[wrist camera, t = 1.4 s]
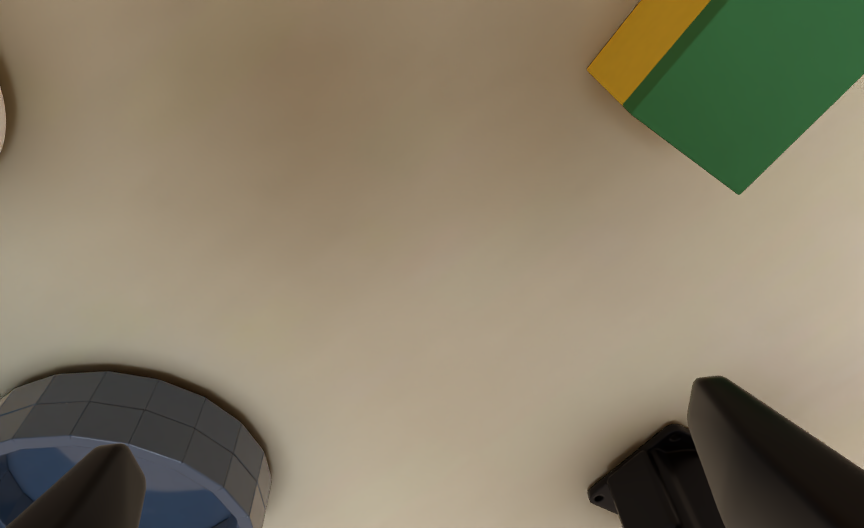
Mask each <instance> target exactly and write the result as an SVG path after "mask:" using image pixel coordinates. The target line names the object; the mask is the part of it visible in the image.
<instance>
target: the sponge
mask: <svg viewBox="0 0 864 528" xmlns="http://www.w3.org/2000/svg"><path fill="white" fill-rule="evenodd" d="M587 71H588V72H589V73H590V74H591V75H592V76H593V77H594V78H595V79H596V80H597V81H598V82H599V83H600V84H601V85H602V86H603V87H604V88H605V89H606V90H607V91H608V92H609V93H610V94H611V95H612V96H613V97H614V98H615V99H616V100H617V101H618V102H619V103H620V104H621V105H622V106H623V107H624V108H625V109H626V110H627V111H628V112H629V113H630V114H631V115H632V116H634V117H635V118H636V119H638V120H639V121H640V122H642V123H643V124H644V125H646V126H647V127H648V128H650V129H651V130H652V131H654V132H655V133H656V134H658V135H659V136H660V137H662V138H663V139H664V140H666V141H667V142H668V143H670V144H671V145H672V146H674V147H675V148H676V149H678V150H679V151H680V152H682V153H683V154H684V155H686V156H687V157H688V158H690V159H691V160H692V161H694V162H695V163H696V164H698V165H699V166H700V167H702V168H703V169H704V170H706V171H707V172H708V173H710V174H711V175H712V176H714V177H715V178H716V179H718V180H719V181H720V182H722V183H723V184H724V185H726V186H727V187H728V188H730V189H731V190H732V191H734V192H735V193H736V194H738V195H740V194H741V193H742V192H743V191H744V190H745V189H746V188H747V187H748V186H749V185H750V184H751V183H752V182H753V181H754V180H756V179H757V178H758V177H759V176H760V175H761V174H762V173H763V172H764V171H765V170H766V169H767V168H768V167H769V166H770V165H771V164H772V163H773V162H774V161H775V160H776V159H777V158H778V157H779V156H780V155H781V154H782V153H783V152H784V151H785V150H786V149H787V148H788V147H789V146H790V145H791V144H792V143H794V142H795V141H796V140H797V139H798V138H799V137H800V136H801V135H802V134H803V133H804V132H805V131H806V130H807V129H808V128H809V127H810V126H811V125H812V124H813V123H814V122H815V121H816V120H817V119H818V118H819V117H820V116H821V115H822V114H823V113H824V112H825V111H826V110H827V109H828V108H829V107H830V106H832V105H833V104H834V103H835V102H836V101H837V100H838V99H839V98H840V97H841V96H842V95H843V94H844V93H845V92H846V91H847V90H848V89H849V88H850V87H851V86H852V85H853V84H854V83H855V82H856V81H857V80H858V79H859V78H860V77H861V76H862V75H863V74H864V0H641V1H640V2H639V4H638V5H637V6H636V7H635V9H634V10H633V11H632V13H631V14H630V15H629V16H628V18H627V19H626V20H625V21H624V23H623V24H622V25H621V26H620V28H619V29H618V30H617V31H616V33H615V34H614V35H613V37H612V38H611V39H610V40H609V42H608V43H607V44H606V45H605V47H604V48H603V49H602V50H601V52H600V53H599V54H598V56H597V57H596V58H595V59H594V61H593V62H592V63H591V64H590V66H589V67H588V68H587Z"/></svg>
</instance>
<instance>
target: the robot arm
mask: <svg viewBox="0 0 864 528" xmlns="http://www.w3.org/2000/svg"><path fill="white" fill-rule="evenodd" d="M687 421H688V427H689V429H687V428H685V427H683V426H681V425H678V424H671V425H668V426H667V427H665V428H664V429H663V430H661V431H660V432H659V433H658V434H656V435H655V436H654V437H653V438H652V439H650V440H649V441H648V442H647V443H645V444H644V445H643V446H642V447H641V448H639V449H638V450H637V451H636V452H634V453H633V454H632V455H631V456H630V457H628V458H627V459H626V460H625V461H623V462H622V463H621V464H620V465H619V466H617V467H616V468H615V469H614V470H612V471H611V472H610V473H609V474H608V475H606V476H605V477H604V478H603V479H601V480H600V481H599V482H598V483H596V484H595V485H594V486H593V487H592V488H590V489H589V491H588V493H587V494H588V497H589V500H590V502H591V503H592V504H595V505H597V506H600V507H602V508H604V509H607V510H609V511H611V512H614V513H616V514H618V515H619V518H620V521H621V524H622V527H623V528H864V470H863V469H861V468H860V467H858V466H857V465H855V464H854V463H852V462H851V461H849V460H848V459H846V458H845V457H843V456H842V455H840V454H839V453H838V452H836V451H835V450H833V449H832V448H830V447H829V446H827V445H826V444H824V443H823V442H821V441H820V440H818V439H817V438H815V437H814V436H812V435H811V434H809V433H808V432H806V431H805V430H803V429H802V428H800V427H799V426H797V425H796V424H794V423H793V422H791V421H790V420H788V419H787V418H785V417H784V416H782V415H781V414H779V413H778V412H776V411H775V410H773V409H772V408H770V407H769V406H767V405H766V404H764V403H763V402H761V401H760V400H758V399H757V398H756V397H754V396H753V395H751V394H750V393H748V392H747V391H745V390H744V389H742V388H741V387H739V386H738V385H736V384H735V383H733V382H732V381H730V380H729V379H727V378H725V377H723V376H711V377H702V378H697V379H696V380H695V381H694V382H693V386H692V391H691V396H690V402H689V407H688V413H687ZM145 492H146V479H145V476H144V473H143V472H142V470H141V468H140V466H139V465H138V463H137V461H136V459H135V458H134V456H133V454H132V452H131V451H130V449H129V447H128V446H126V445H125V444H122V443H118V444H109V445H101V446H98V447H96V448H94V449H93V450H92V451H91V452H89V453H88V454H87V455H86V456H85V457H84V458H83V459H82V460H80V461H79V462H78V463H77V464H76V465H75V466H74V467H73V468H71V469H70V470H69V471H68V472H67V473H66V474H65V475H64V476H63V477H61V478H60V479H59V480H58V481H57V482H56V483H55V484H54V485H52V486H51V487H50V488H49V489H48V490H47V491H46V492H45V493H43V494H42V495H41V496H40V497H39V498H38V499H37V500H36V501H34V502H33V503H32V504H31V505H30V506H29V507H28V508H27V509H26V510H24V511H23V512H22V513H21V514H20V515H19V516H18V517H17V518H15V519H14V520H13V521H12V522H11V523H10V524H9V525H8V526H6V527H5V528H138V526H139V521H140V517H141V512H142V507H143V502H144V497H145Z"/></svg>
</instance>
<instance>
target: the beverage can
mask: <svg viewBox="0 0 864 528" xmlns="http://www.w3.org/2000/svg"><path fill="white" fill-rule="evenodd" d="M5 132H6V113H5V105H4V100H3V95H2V91H1V88H0V153H1V150H2V147H3V143H4V138H5Z"/></svg>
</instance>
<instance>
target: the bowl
mask: <svg viewBox="0 0 864 528" xmlns="http://www.w3.org/2000/svg"><path fill="white" fill-rule="evenodd" d="M118 443H122V444H125V445H126V446H128V447H129V449H130V451H131V452H132V454H133V456H134V458H135V459H136V461H137V463H138V465H139V466H140V468H141V470H142V472H143V473H144V476H145V479H146V492H145V497H144V502H143V507H142V512H141V517H140V521H139V526H138V528H262V526H263V521H264V516H265V511H266V507H267V502H268V497H269V492H270V487H271V482H272V478H271V475H270V471H269V467H268V464H267V460H266V456H265V453H264V451H263V449H262V448H261V447H260V445H259V444H258V443H257V441H256V440H255V439H254V438H253V436H252V435H251V434H250V433H249V431H248V430H247V429H246V428H245V426H244V425H243V424H242V423H241V422H240V421H239V420H237V419H236V418H234V417H233V416H232V415H230V414H229V413H227V412H226V411H224V410H223V409H221V408H220V407H219V406H217V405H216V404H214V403H213V402H211V401H210V400H208V399H207V398H205V397H203V396H201V395H198V394H196V393H193V392H190V391H188V390H185V389H183V388H180V387H178V386H175V385H172V384H170V383H167V382H165V381H162V380H159V379H154V378H148V377H142V376H136V375H129V374H123V373H117V372H111V371H100V372H83V373H66V374H55V375H52V376H50V377H47V378H44V379H41V380H38V381H35V382H32V383H29V384H26V385H23V386H20V387H17V388H15V389H13V390H12V391H11V392H10V393H8V394H7V395H6V396H5V397H3V398H2V399H1V400H0V528H5V527H6V526H8V525H9V524H10V523H11V522H12V521H13V520H14V519H15V518H17V517H18V516H19V515H20V514H21V513H22V512H23V511H24V510H26V509H27V508H28V507H29V506H30V505H31V504H32V503H33V502H34V501H36V500H37V499H38V498H39V497H40V496H41V495H42V494H43V493H45V492H46V491H47V490H48V489H49V488H50V487H51V486H52V485H54V484H55V483H56V482H57V481H58V480H59V479H60V478H61V477H63V476H64V475H65V474H66V473H67V472H68V471H69V470H70V469H71V468H73V467H74V466H75V465H76V464H77V463H78V462H79V461H80V460H82V459H83V458H84V457H85V456H86V455H87V454H88V453H89V452H91V451H92V450H93V449H94V448H96V447H98V446H101V445H109V444H118Z"/></svg>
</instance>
